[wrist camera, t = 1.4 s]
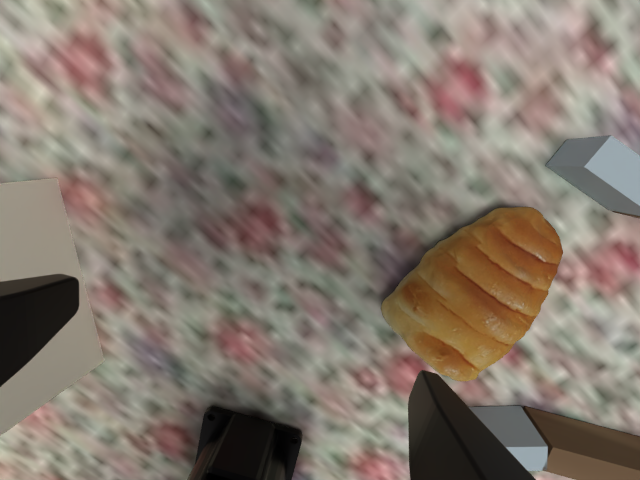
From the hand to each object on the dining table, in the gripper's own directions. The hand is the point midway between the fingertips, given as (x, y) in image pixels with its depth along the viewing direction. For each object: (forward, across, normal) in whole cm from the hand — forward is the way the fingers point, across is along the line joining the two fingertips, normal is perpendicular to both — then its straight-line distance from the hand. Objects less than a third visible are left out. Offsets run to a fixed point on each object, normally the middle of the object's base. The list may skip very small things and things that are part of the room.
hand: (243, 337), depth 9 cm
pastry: (+11, -9, +1) cm, 15 cm away
